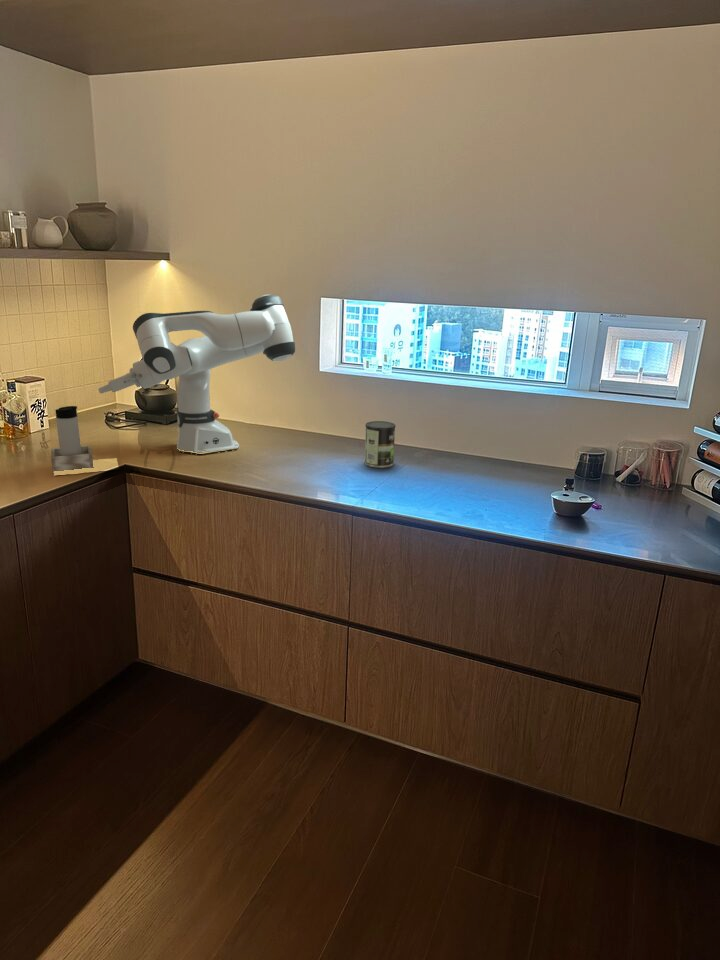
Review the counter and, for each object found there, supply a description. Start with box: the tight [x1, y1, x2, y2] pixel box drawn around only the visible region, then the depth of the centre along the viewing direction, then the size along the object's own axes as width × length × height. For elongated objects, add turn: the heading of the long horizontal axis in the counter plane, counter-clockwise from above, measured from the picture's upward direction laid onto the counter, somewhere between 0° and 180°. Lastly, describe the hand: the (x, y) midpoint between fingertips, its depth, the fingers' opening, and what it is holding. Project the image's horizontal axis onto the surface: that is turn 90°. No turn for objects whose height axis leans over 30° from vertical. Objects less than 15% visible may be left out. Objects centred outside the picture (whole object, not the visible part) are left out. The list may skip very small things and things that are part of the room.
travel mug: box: [55, 405, 82, 456], centre depth 215 cm, size 6×7×20 cm
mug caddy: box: [50, 445, 94, 473], centre depth 220 cm, size 20×12×6 cm, turn 114°
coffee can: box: [364, 420, 396, 469], centre depth 233 cm, size 10×10×14 cm
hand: (103, 389), depth 216 cm, fingers open, 8 cm apart
